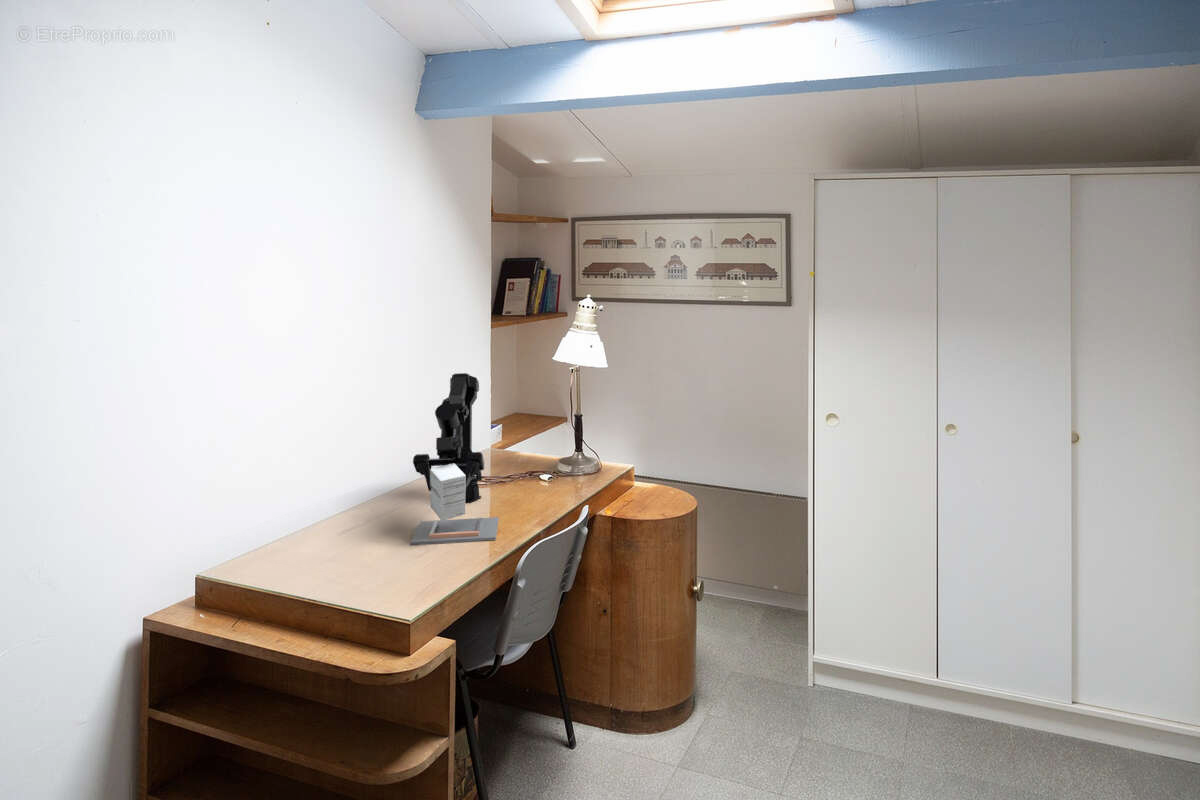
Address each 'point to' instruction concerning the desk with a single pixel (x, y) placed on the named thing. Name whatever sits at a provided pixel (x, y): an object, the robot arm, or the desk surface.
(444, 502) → the supplement box
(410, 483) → the desk surface
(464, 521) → the rail stand
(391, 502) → the desk surface
